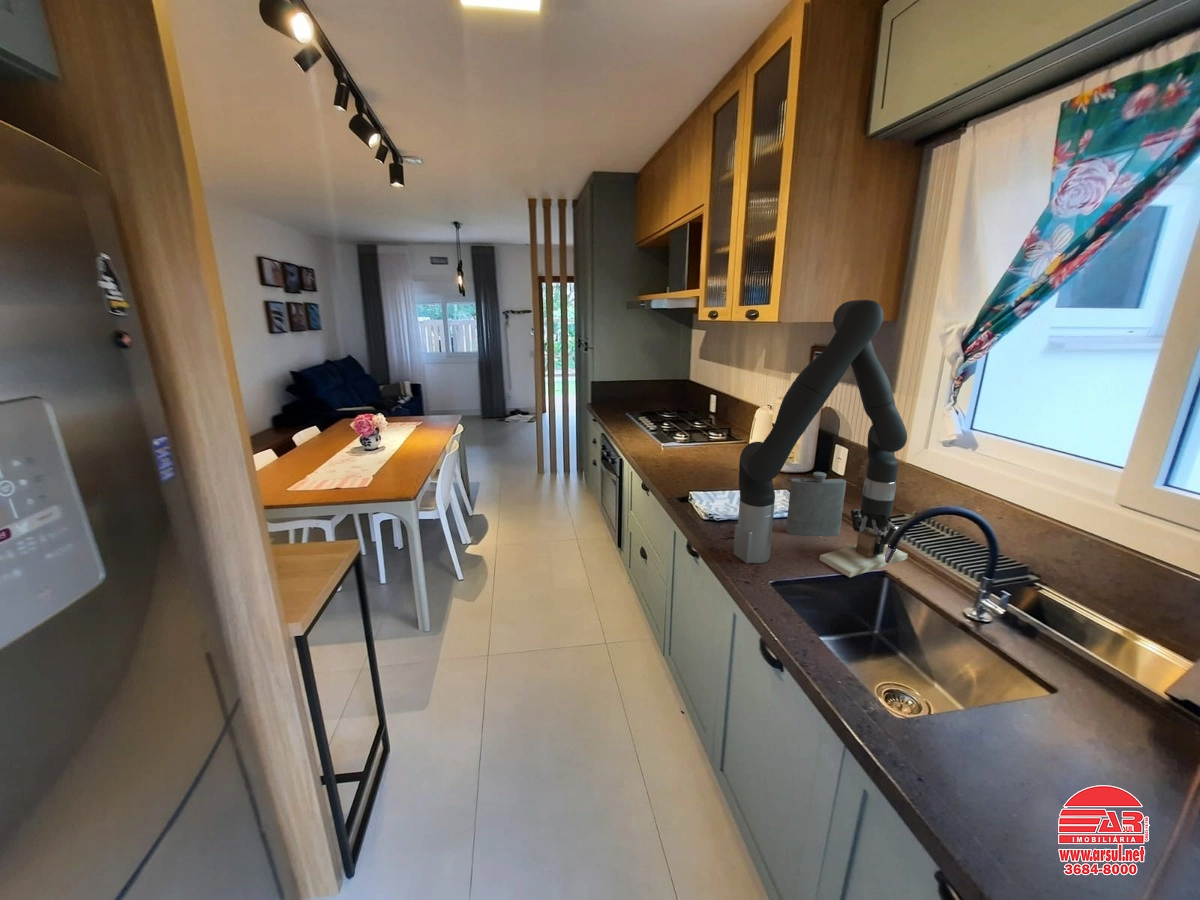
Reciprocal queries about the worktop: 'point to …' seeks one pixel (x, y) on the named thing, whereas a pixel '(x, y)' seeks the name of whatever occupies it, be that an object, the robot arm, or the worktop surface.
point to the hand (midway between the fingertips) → (869, 550)
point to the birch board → (858, 560)
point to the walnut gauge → (866, 543)
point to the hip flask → (815, 506)
